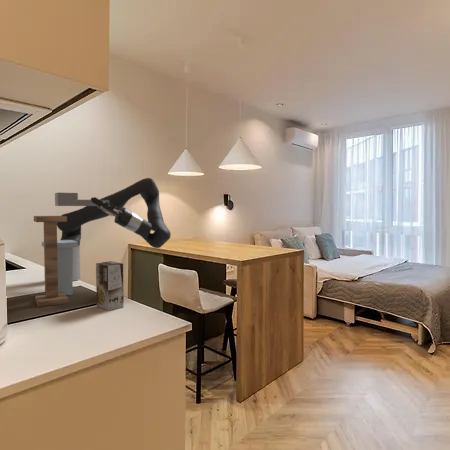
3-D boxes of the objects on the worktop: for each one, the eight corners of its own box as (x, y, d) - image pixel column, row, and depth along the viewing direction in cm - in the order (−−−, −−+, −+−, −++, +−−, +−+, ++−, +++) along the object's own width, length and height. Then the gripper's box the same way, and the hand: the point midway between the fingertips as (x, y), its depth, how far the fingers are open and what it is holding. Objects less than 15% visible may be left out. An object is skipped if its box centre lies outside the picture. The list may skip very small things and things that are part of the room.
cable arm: (55, 205, 135) (54, 193, 135) (106, 206, 146) (105, 194, 146) (58, 205, 130) (57, 192, 129) (110, 206, 141) (110, 193, 140)
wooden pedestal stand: (35, 300, 134) (33, 215, 133) (63, 297, 140) (62, 215, 138) (38, 307, 126) (36, 216, 125) (68, 303, 132) (66, 216, 130)
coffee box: (124, 307, 127) (124, 263, 126) (108, 310, 122) (107, 265, 122) (111, 302, 133) (111, 260, 133) (95, 305, 129) (95, 262, 128)
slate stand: (42, 292, 147) (41, 241, 146) (72, 289, 154) (72, 239, 153) (46, 298, 138) (45, 243, 136) (78, 294, 144) (77, 242, 143)
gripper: (127, 212, 155) (92, 191, 146) (138, 212, 144) (101, 190, 135) (119, 226, 153) (83, 207, 145) (129, 228, 142) (91, 207, 133)
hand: (91, 199), depth 140 cm, fingers closed on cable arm, 3 cm apart
